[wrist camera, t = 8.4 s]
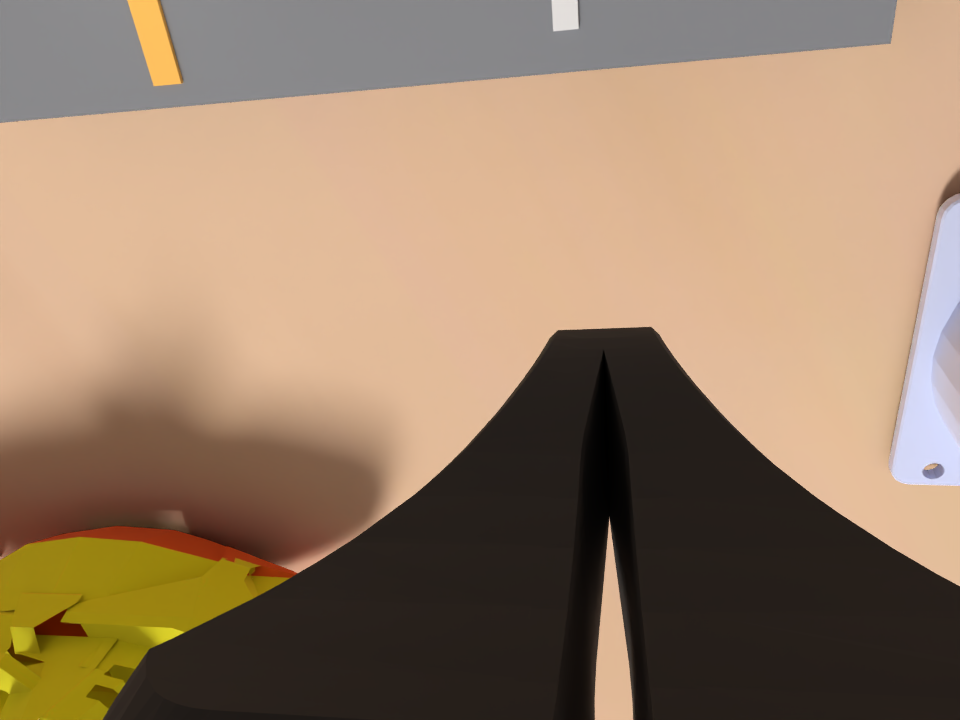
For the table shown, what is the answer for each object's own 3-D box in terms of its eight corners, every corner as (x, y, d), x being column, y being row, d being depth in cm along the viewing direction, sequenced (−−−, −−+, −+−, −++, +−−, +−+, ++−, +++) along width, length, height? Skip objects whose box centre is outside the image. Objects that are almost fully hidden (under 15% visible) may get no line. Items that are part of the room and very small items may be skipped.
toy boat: (-75, 493, 29) (-371, 726, 20) (348, 487, 25) (195, 780, 16) (1, 609, 32) (-229, 853, 23) (390, 621, 28) (280, 927, 19)
